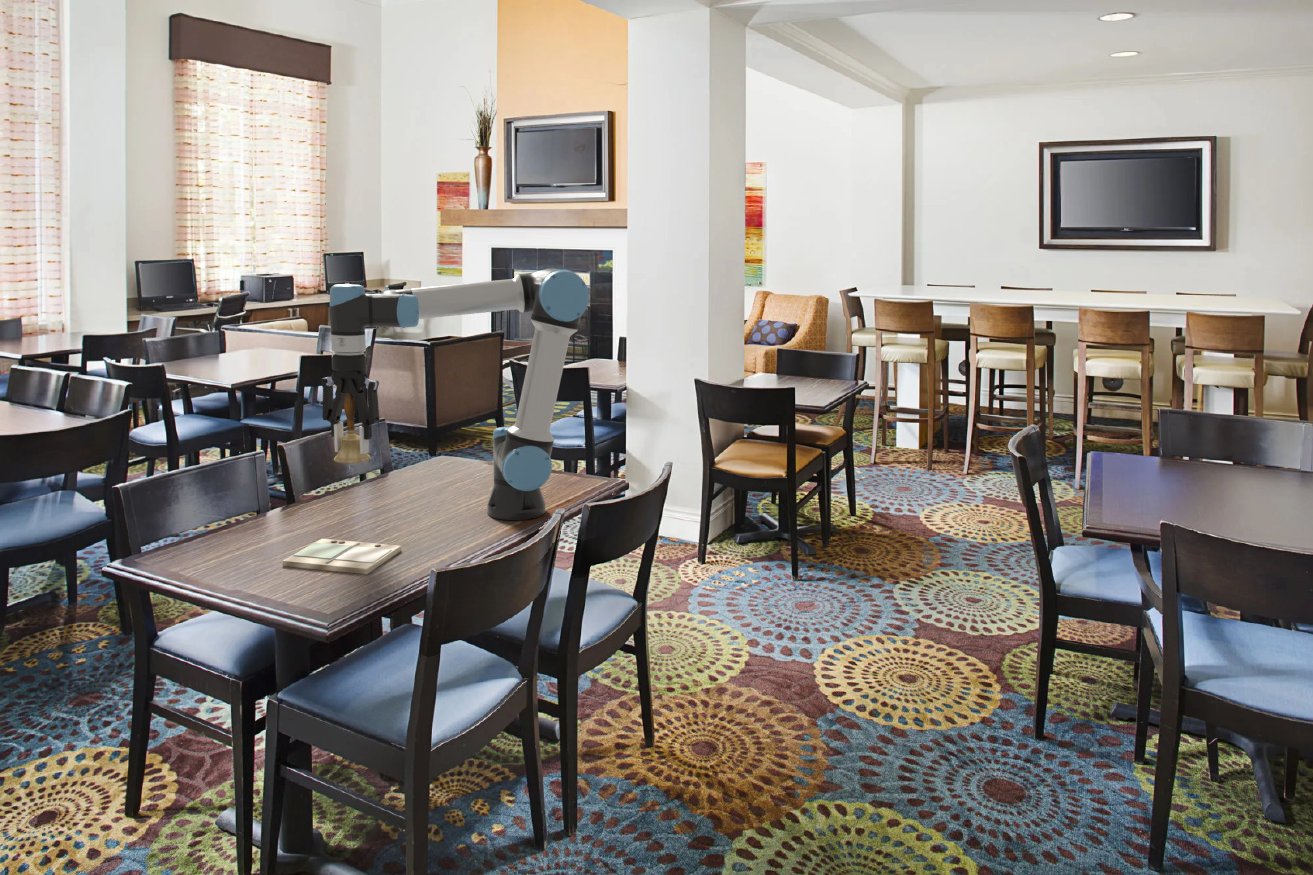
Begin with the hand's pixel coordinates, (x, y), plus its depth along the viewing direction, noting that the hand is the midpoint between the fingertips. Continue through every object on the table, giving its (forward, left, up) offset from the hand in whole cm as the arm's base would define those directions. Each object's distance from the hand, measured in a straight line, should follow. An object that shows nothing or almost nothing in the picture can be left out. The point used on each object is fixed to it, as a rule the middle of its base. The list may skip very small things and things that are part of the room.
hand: (351, 451), depth 224 cm
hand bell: (0, 0, -2) cm, 2 cm away
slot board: (-4, +13, -21) cm, 25 cm away
